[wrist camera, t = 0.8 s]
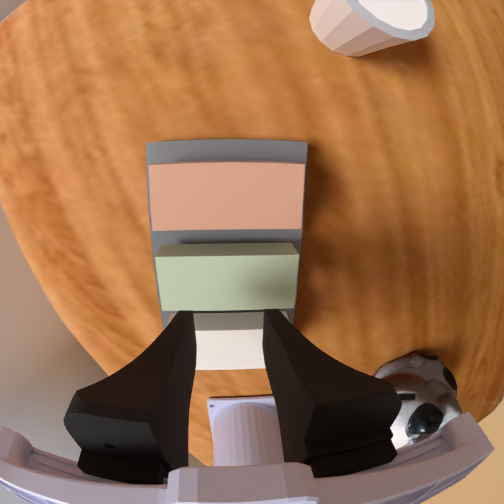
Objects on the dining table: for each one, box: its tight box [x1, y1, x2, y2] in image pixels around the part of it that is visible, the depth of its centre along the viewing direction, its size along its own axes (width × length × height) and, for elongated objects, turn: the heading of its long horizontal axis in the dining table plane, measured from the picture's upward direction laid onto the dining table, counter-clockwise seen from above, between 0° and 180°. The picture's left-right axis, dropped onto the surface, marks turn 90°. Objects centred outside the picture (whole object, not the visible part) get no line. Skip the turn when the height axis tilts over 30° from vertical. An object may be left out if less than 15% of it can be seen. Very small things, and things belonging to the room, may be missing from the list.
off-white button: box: [167, 311, 289, 370], centre depth 19 cm, size 4×8×2 cm, turn 89°
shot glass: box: [309, 0, 434, 57], centre depth 12 cm, size 7×7×7 cm
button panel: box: [146, 139, 307, 329], centre depth 20 cm, size 16×10×2 cm, turn 179°
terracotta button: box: [149, 160, 305, 231], centre depth 15 cm, size 4×8×2 cm, turn 89°
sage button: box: [155, 243, 299, 311], centre depth 17 cm, size 4×8×2 cm, turn 89°
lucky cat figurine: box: [375, 352, 462, 450], centre depth 24 cm, size 15×12×14 cm
